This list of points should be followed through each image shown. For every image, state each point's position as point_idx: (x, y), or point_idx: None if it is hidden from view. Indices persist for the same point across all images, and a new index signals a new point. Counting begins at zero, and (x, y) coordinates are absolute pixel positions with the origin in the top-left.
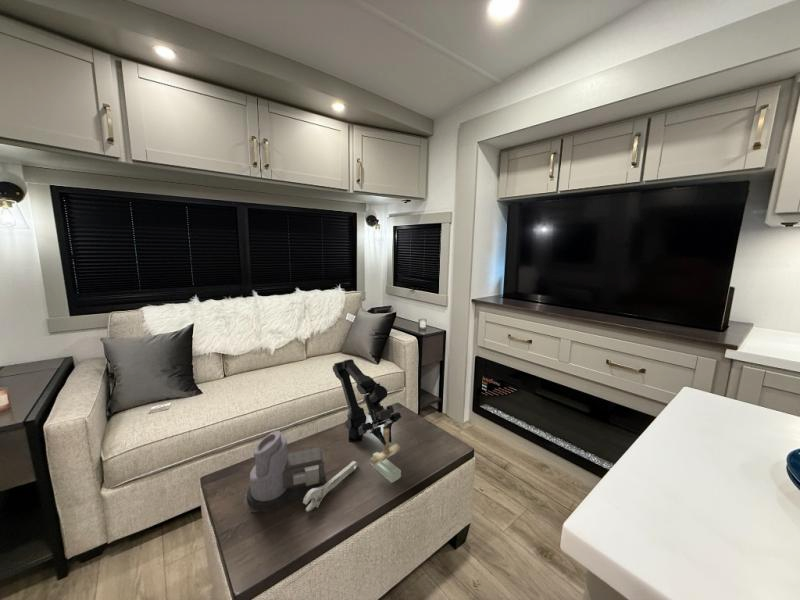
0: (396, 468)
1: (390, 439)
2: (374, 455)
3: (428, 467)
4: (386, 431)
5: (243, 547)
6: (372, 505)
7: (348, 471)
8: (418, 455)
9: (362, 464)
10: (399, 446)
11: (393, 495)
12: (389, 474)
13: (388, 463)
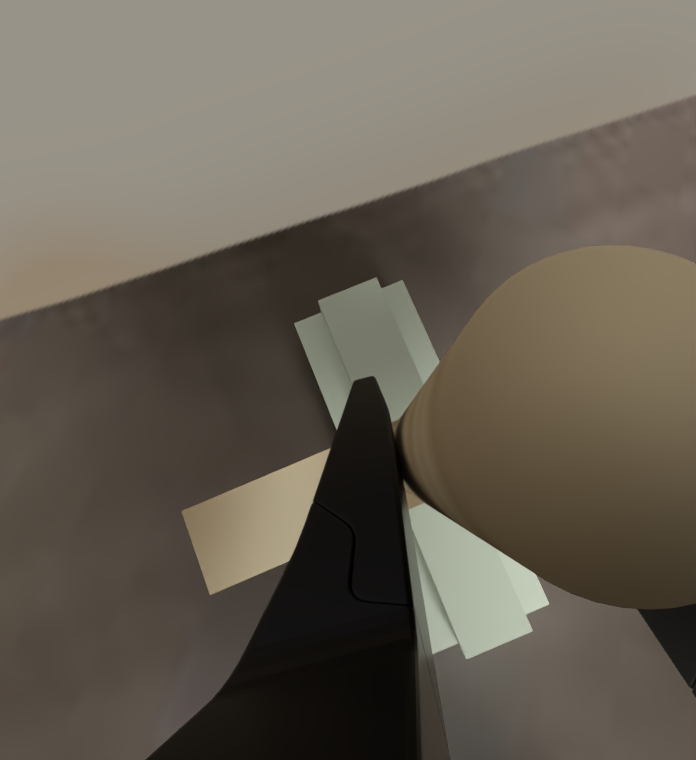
0: (339, 312)
1: (372, 396)
2: (516, 597)
3: (36, 370)
4: (634, 268)
5: None
6: (593, 156)
7: None
8: (35, 549)
9: (598, 616)
10: (194, 506)
11: (422, 191)
12: (415, 311)
13: (395, 410)
